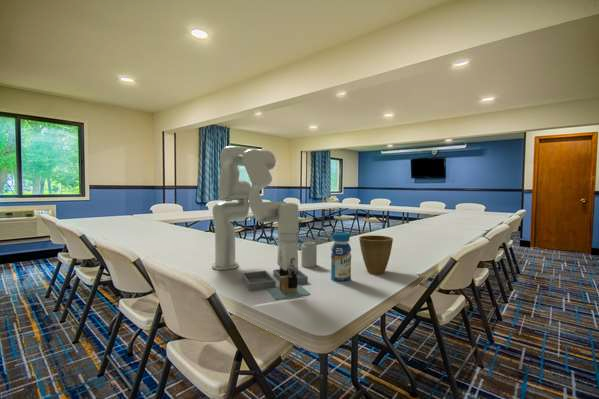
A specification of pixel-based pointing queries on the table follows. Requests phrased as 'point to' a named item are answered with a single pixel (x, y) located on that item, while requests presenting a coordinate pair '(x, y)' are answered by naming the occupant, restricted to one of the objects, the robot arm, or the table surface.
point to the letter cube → (286, 285)
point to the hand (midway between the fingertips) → (288, 283)
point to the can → (309, 254)
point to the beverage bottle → (341, 258)
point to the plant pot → (376, 252)
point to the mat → (279, 295)
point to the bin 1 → (258, 280)
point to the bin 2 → (301, 277)
